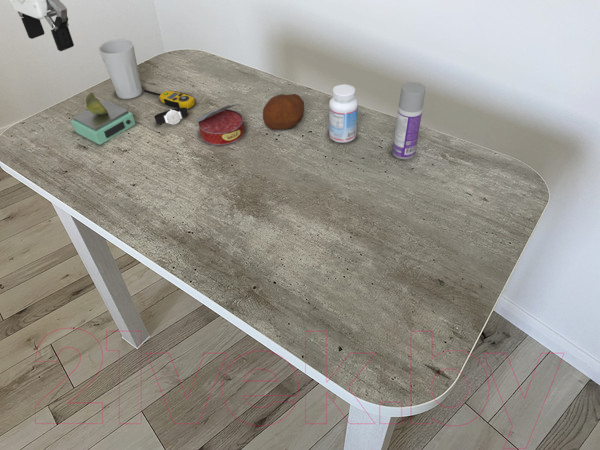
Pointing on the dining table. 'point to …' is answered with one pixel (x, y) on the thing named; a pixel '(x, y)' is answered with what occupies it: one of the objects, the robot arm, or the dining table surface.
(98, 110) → the lime
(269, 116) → the potato
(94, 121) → the scale pan
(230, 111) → the canned food
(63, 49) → the robot arm
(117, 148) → the dining table surface
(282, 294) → the dining table surface
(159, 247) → the dining table surface
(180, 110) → the watch
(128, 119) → the scale
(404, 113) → the container
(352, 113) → the pill bottle
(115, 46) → the cup
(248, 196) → the dining table surface
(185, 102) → the yellow walkie talkie
